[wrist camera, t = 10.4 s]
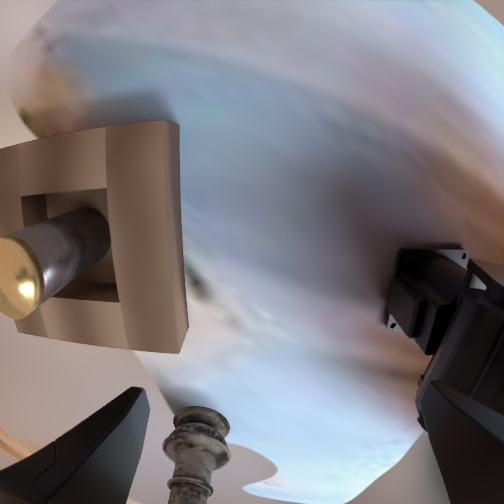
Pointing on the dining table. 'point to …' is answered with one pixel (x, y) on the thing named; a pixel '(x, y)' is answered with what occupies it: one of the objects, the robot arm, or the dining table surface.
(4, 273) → the battery cell
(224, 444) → the weathered candle holder
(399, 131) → the dining table surface
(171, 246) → the holder block
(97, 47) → the dining table surface
